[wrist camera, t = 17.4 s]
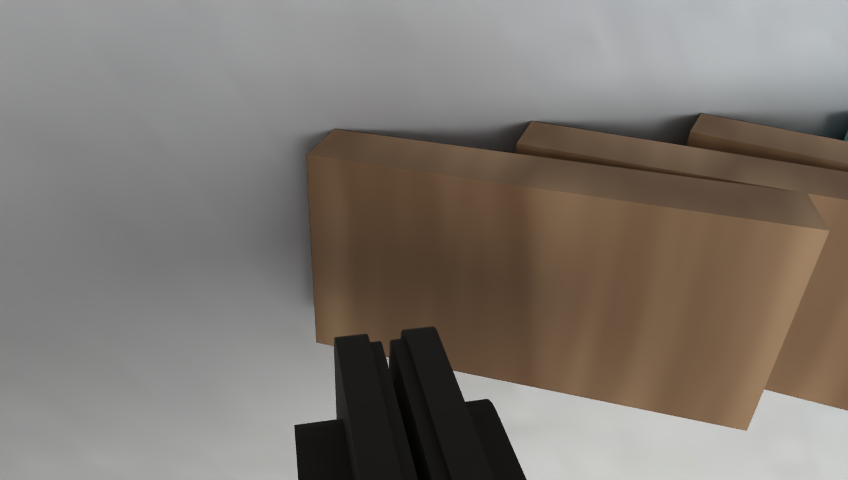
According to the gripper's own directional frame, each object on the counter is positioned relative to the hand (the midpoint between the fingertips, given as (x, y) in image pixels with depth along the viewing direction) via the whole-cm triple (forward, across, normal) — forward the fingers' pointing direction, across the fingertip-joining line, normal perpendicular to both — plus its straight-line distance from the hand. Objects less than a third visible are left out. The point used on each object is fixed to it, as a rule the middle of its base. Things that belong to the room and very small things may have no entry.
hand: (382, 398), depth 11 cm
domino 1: (+5, 0, 0) cm, 5 cm away
